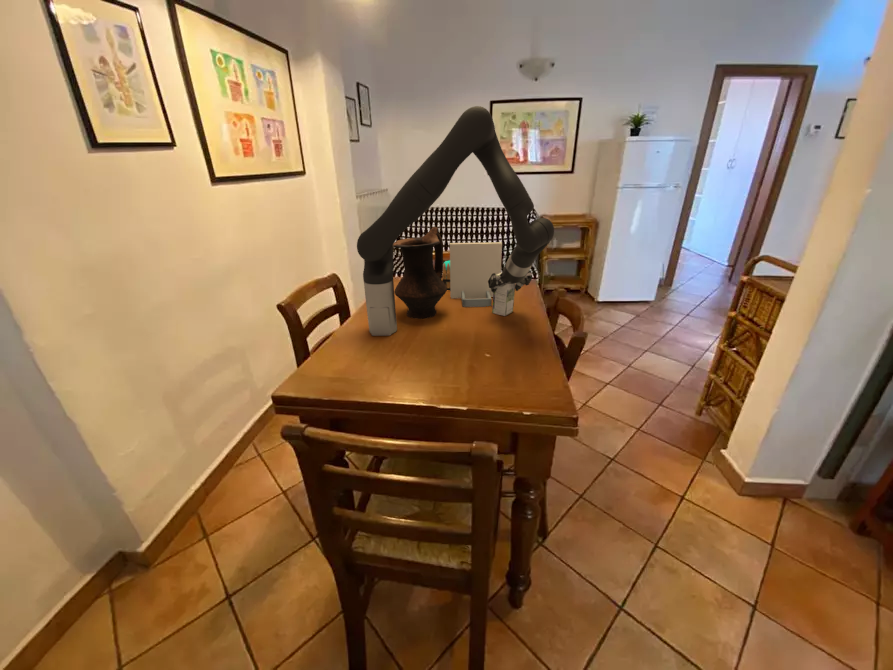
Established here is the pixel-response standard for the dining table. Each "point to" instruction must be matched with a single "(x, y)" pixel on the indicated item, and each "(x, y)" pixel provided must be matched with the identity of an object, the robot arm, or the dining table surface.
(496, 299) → the syrup box
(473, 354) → the dining table surface
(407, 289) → the jug
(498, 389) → the dining table surface
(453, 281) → the wall holder
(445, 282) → the ammunition clip
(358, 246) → the robot arm
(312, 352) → the dining table surface
